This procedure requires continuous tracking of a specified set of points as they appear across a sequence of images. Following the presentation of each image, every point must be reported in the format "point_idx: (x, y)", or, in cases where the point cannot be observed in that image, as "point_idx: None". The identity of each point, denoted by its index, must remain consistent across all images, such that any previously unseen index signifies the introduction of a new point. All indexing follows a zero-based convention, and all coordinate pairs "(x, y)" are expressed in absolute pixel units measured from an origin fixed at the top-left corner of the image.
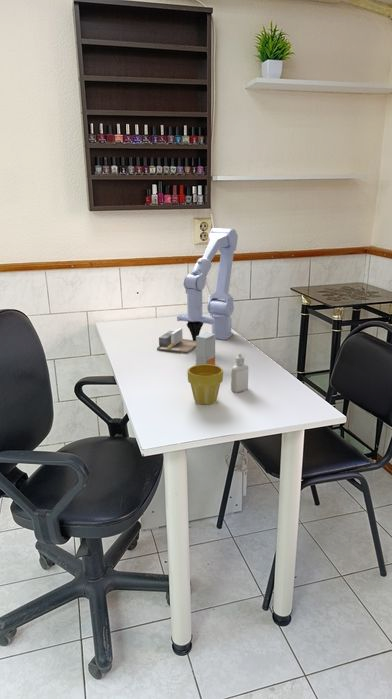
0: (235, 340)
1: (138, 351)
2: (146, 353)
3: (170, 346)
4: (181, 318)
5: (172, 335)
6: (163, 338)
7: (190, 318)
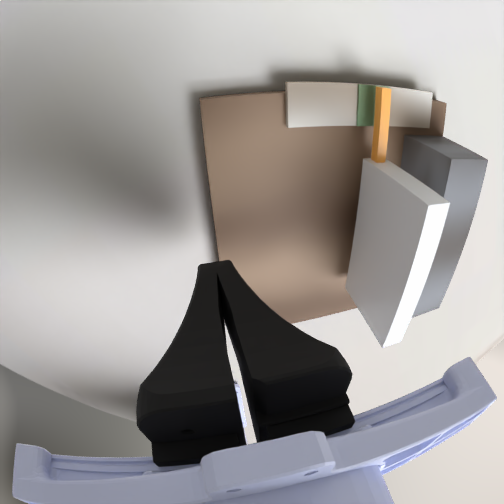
0: (111, 401)
1: (494, 57)
2: (459, 28)
3: (377, 111)
4: (449, 405)
5: (426, 195)
6: (463, 157)
7: (312, 487)
